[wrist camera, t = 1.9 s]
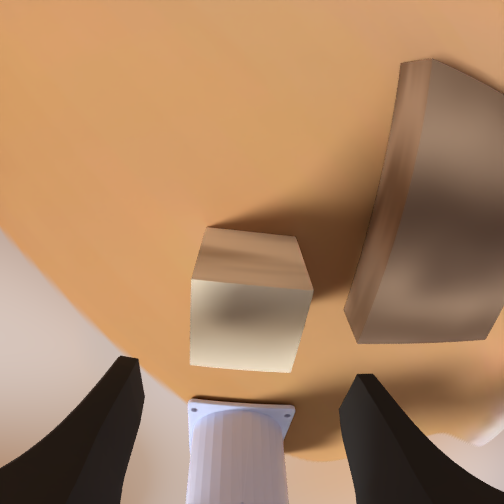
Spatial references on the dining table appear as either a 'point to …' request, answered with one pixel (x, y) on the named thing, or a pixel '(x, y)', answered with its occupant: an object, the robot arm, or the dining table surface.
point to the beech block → (248, 301)
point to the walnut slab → (435, 215)
